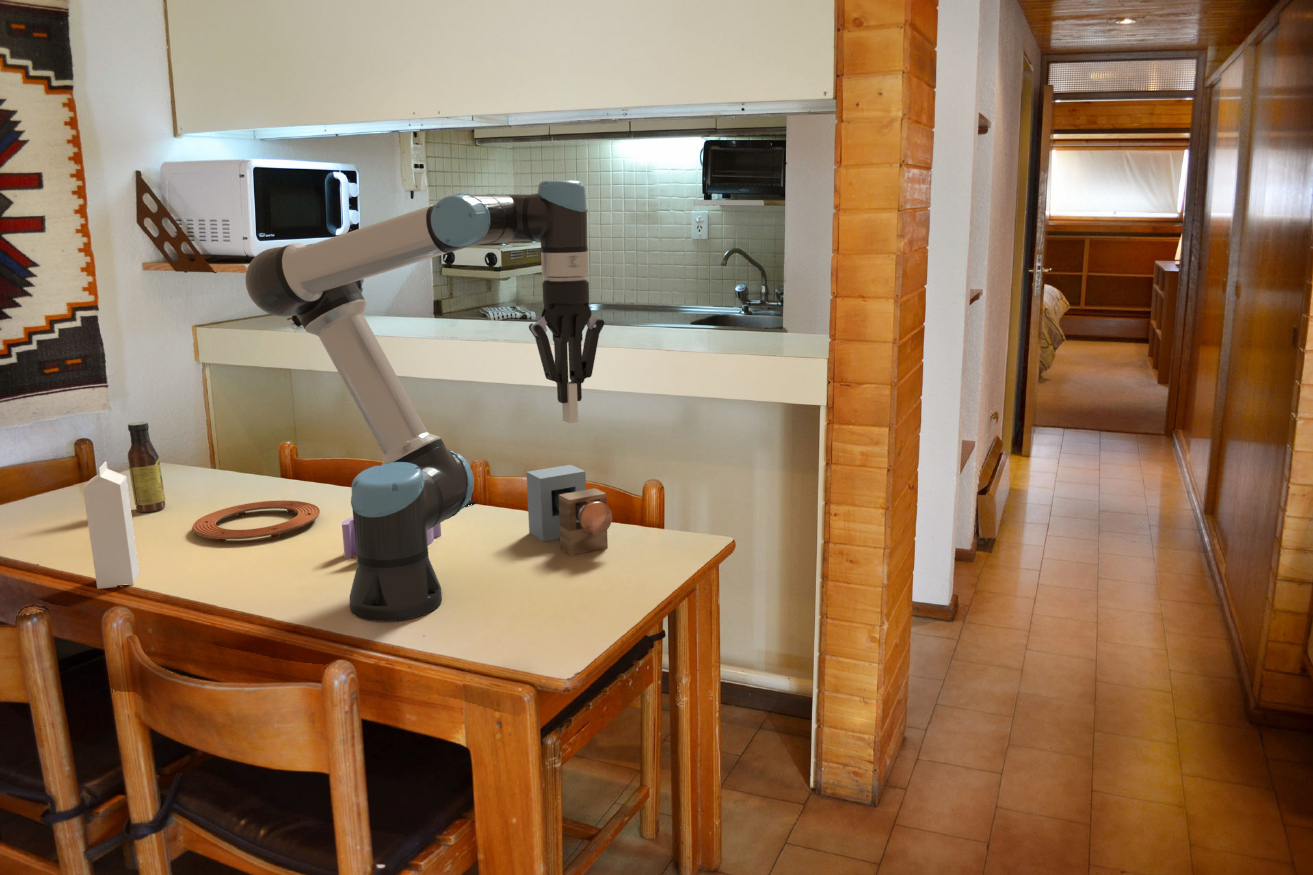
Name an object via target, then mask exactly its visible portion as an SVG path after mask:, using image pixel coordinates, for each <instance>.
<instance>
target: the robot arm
mask: <svg viewBox="0 0 1313 875" xmlns="http://www.w3.org/2000/svg"><path fill="white" fill-rule="evenodd" d="M507 242H508V243H513V242H514V243H515V242H517V243H518V242H540V256H541V257H540V258H541V259H540V260H541V277H543V278H545V280H543V282H542V283H541V284H542V303H543V310H542V312H541V315H540V316H541V317H540V319H539V320H537V321H536V322H535V323H533V322H532V323H530V324H529V325H528V329H529V331H530V333H531V334H532V335H533V337H534V339H535V342H536V346H537V351H538V353H539V357H540V358H539V359H540V362H541V365H542V369H543V373H544V376H545V378H546V380H549V381H552V382H554V383H556V390H557V391H556V393H557V394H556V395H557V401H558V403H560V404H561V406H562V407H561V408H562V421H563V422H566V423H568V424H574V423H579V410H578V409H579V407H578V402H582V398H583V396H582V384H584V382H585V380H586V379H588V378H591V377H592V375H593V370H594V364H595V359H596V353H597V350H598V345H599V344H598V343H599V337H600V333H601V331H602V330H603V328H604V326H605V321H604V319H601V318H597V317H596V316H594V314H592V310H591V308H590V305H589V304H590V282H589V281H588V279H586V277H587V276H588V275H589V250H588V206H587V198H586V188H585V184H584V183H583V182H581V181H579V180H544V181H540V182H539V184H538V189H537V193H531V194H530V193H529V194H528V193H527V194H524V193H523V194H521V193H520V194H518V193H517V194H516V193H514V194H511V193H510V194H503V193H501V194H498V193H486V194H470V193H463V192H462V193H457V194H456V193H455V194H452V195H448V196H444V197H443V198H441V199H439V201H437V203H436V204H435V203H434V204H431V205H428V206H425V207H423V208H422V207H421V208H419V209H416V210H413V211H409V212H407V213H403V214H401V215H398V216H394V217H392V218H389V219H384V220H383V221H379V222H376V223H372V224H371V225H367V226H363V227H361V228H357V229H355V230H351V231H348V232H346V233H342V234H340V235H336V236H333V237H330V238H327V239H324V240H321V241H318V242H315V243H309V244H302V243H299V242H294V243H293V242H292V243H291V244H287V245H284V246H277V247H272V248H268V249H266V250H263V251H261V252H259V253H258V254H257V255H255V257H254V258H252V260H251V261H250V263H249V265H248V266H247V268H246V269H247V270H246V273H245V286H246V290H247V293H248V296H249V298H250V299H251V301H252V302H253V303H254V304H255V305H256V306H257V307H258V308H259V309H260V310H262V311H264V312H266V313H267V314H269V315H272V316H275V317H285V318H286V317H295V316H296V317H297V318H298V320H299V322H300V324H301V326H302V327H303V329H304V330H305V332H306V333H308V334H311V335H315V336H316V337H318V338H319V340H320V341H321V343H322V345H323V347H324V348H325V350H326V352H327V354H328V356H329V358H330V360H331V361H332V363H333V366H334V368H335V369H336V371H337V372H338V374H339V376H340V378H341V380H342V381H343V383H344V385H345V387H346V388H347V390H348V392H349V394H350V396H351V397H352V399H353V402H354V403H355V405H356V407H357V408H358V410H359V412H360V414H361V416H362V418H363V419H364V421H365V423H366V425H367V426H368V429H369V431H370V432H371V433H372V436H373V438H374V439H375V441H376V443H377V444H378V447H379V449H380V450H381V452H382V454H383V460H382V464H381V465H373V466H371V467H368V468H366V469H364V470H362V471H361V472H359V473H358V474H357V475H356V476H355V477H354V479H353V480H352V483H351V497H350V506H351V509H352V517H353V520H354V531H355V542H356V553H355V554H356V561H357V563H356V564H357V565H356V569H355V574H354V578H353V581H352V585H351V589H350V593H349V600H348V601H349V609H350V612H351V614H352V615H353V616H355V617H356V618H359V619H362V620H366V621H371V622H396V621H397V622H398V621H405V620H409V619H414V618H417V617H418V618H419V617H421V616H424V615H426V614H428V613H431V612H433V611H434V610H436V609H438V607H439V606H441V604H442V602H443V597H442V596H443V595H442V586H441V583H440V581H439V579H438V577H437V574H436V571H435V570H434V567H433V565H432V563H431V560H430V556H429V545H428V542H427V530H429V529H431V528H432V527H434V526H436V525H437V524H439V523H443V522H444V521H446V520H448V519H451V518H452V517H455V516H456V515H457V514H458V513H459V512H460V511H461V510H462V509H465V508H466V507H465V506H466V504H467V503H468V502H469V500H471V498H472V495H473V492H474V487H475V486H474V485H475V481H474V480H475V479H474V474H473V471H472V469H471V465H470V464H469V463H468V461H467V459H465V457H464V456H462V454H460V453H456V452H454V451H453V450H450V449H447V446H446V445H445V443H444V441H443V439H442V438H441V436H439V435H436V434H433V433H430V432H429V431H428V430H427V428H426V427H425V425H424V423H423V421H422V419H421V417H420V416H419V414H418V412H417V410H416V409H415V406H414V404H413V403H412V402H411V399H410V398H409V396H408V394H407V391H406V390H405V388H404V387H403V385H402V382H401V381H400V378H399V377H398V375H397V374H396V372H395V370H394V368H393V366H392V364H391V363H390V361H389V359H388V357H387V356H386V354H385V352H384V350H383V348H382V347H381V344H380V343H379V341H378V339H377V338H376V336H375V334H374V332H373V330H372V328H371V326H370V325H369V323H368V321H367V319H366V317H365V316H364V312H365V308H366V305H367V301H366V300H365V298H364V296H363V291H364V286H363V283H364V282H365V279H368V278H371V277H374V276H375V277H376V276H378V275H380V274H384V273H387V272H391V271H393V270H397V269H399V268H403V267H406V266H409V265H413V264H417V263H419V262H422V261H425V260H429V259H432V258H435V257H436V258H437V257H438V256H441V255H445V254H448V253H449V254H450V253H452V252H456V251H460V250H463V249H467V248H469V247H473V246H478V245H483V244H484V245H487V244H499V243H507ZM547 327H548V329H549V330H550V332H551V333H552V341H553V343H554V344H553V347H554V348H553V350H554V351H552V346H551V344H550V343H551V342H550V340H549V338H548V337H549V336H548V334H547V332H548V329H547ZM586 327H587V329H586V332H585V336H584V341H583V331H584V329H585V328H586ZM582 341H583V348H582ZM553 352H554V354H553ZM569 380H570V381H569ZM464 507H465V508H464Z"/></svg>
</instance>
